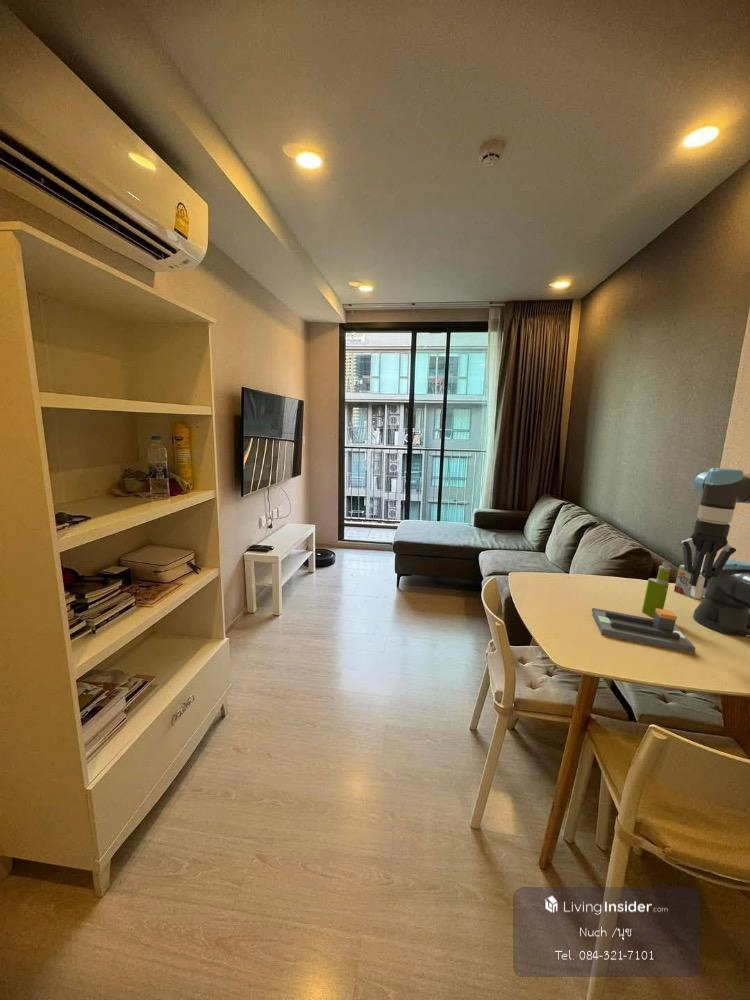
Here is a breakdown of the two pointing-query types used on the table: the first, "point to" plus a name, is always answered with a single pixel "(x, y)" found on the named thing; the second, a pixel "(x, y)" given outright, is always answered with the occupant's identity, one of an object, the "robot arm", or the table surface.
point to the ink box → (685, 583)
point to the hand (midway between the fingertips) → (695, 596)
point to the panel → (641, 636)
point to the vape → (656, 591)
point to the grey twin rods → (615, 612)
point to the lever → (664, 620)
